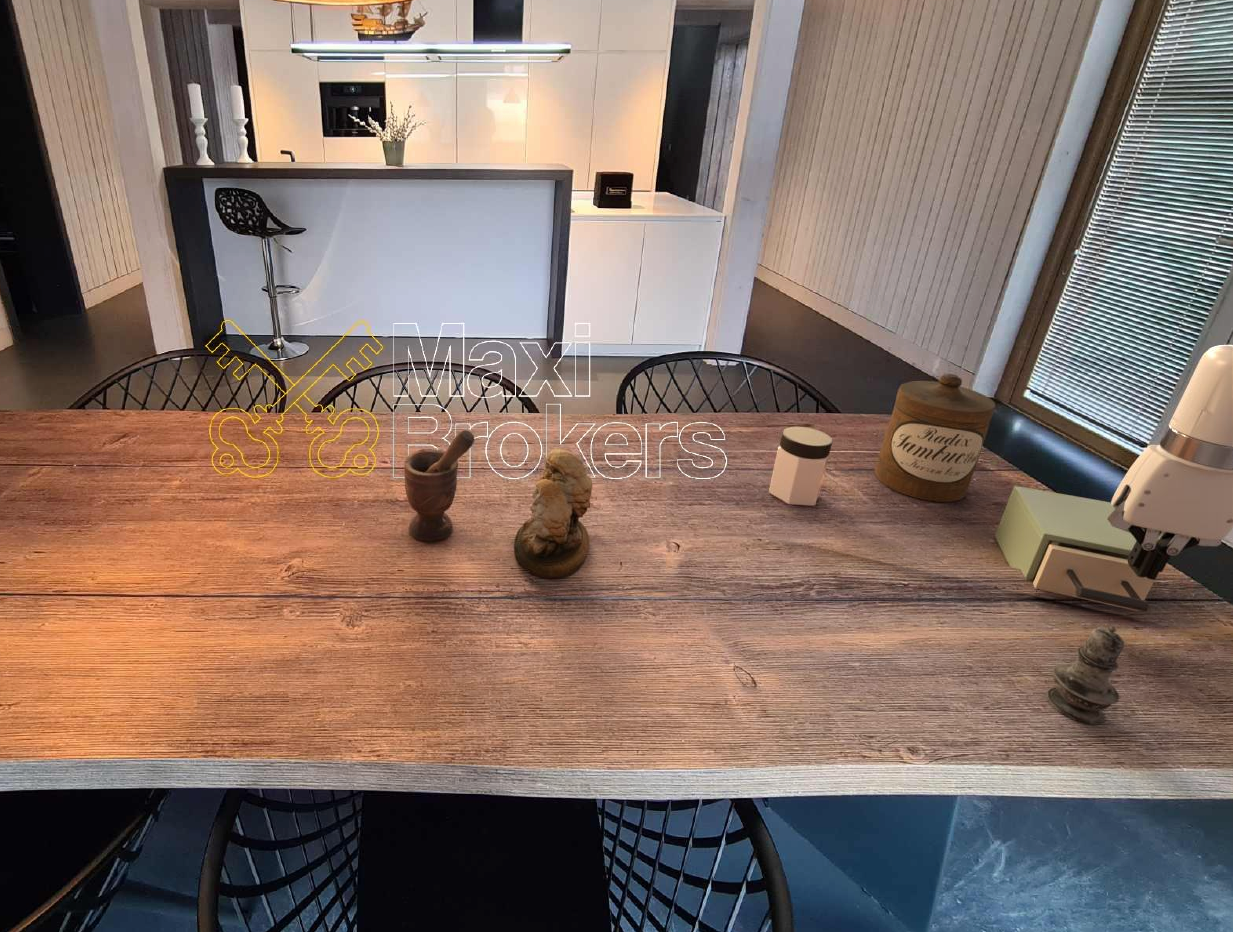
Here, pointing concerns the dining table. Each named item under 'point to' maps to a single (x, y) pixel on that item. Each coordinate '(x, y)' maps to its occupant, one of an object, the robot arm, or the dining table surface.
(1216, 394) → the robot arm
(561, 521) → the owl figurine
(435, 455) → the mortar and pestle
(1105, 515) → the cabinet
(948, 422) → the wooden container
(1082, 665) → the chess piece
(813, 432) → the jar
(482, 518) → the dining table surface
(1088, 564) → the drawer
